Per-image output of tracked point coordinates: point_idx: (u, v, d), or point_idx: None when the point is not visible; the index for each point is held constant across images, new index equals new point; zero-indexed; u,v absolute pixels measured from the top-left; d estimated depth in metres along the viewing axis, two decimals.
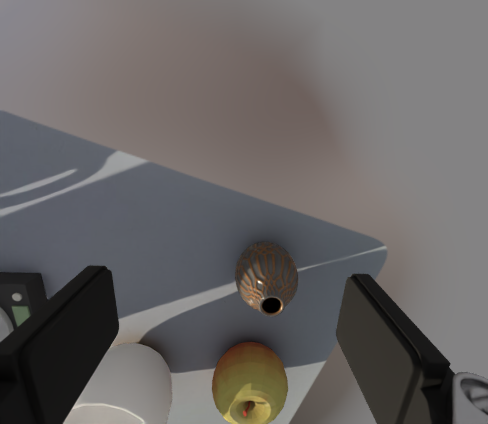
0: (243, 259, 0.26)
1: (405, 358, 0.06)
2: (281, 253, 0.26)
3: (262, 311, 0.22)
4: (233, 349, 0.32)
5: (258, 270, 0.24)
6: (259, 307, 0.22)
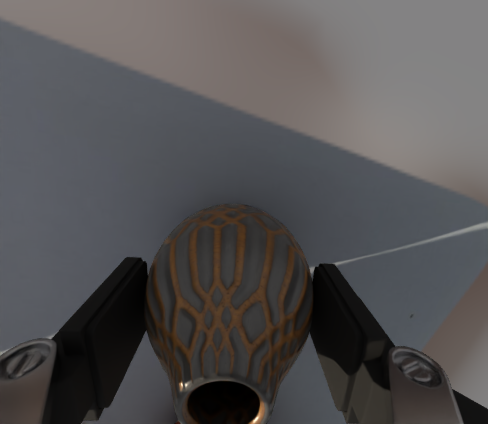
0: (164, 242, 0.10)
1: (351, 335, 0.07)
2: (269, 225, 0.09)
3: None
4: None
5: (190, 275, 0.07)
6: (177, 413, 0.06)
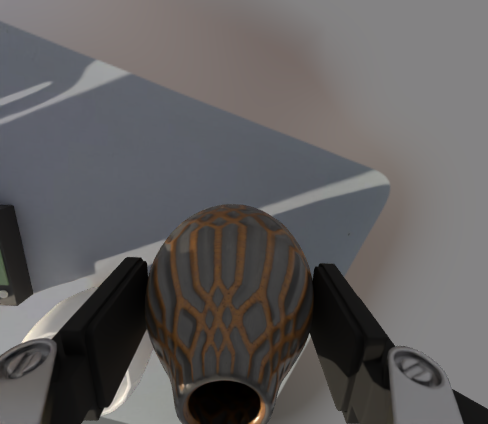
0: (165, 242, 0.10)
1: (351, 335, 0.07)
2: (269, 226, 0.09)
3: None
4: None
5: (190, 275, 0.07)
6: (178, 413, 0.06)
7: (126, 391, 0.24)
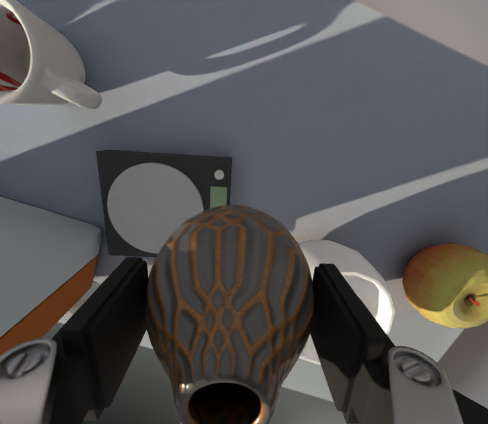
0: (165, 243, 0.10)
1: (351, 335, 0.07)
2: (269, 227, 0.09)
3: None
4: (433, 248, 0.29)
5: (190, 276, 0.07)
6: (178, 415, 0.06)
7: None
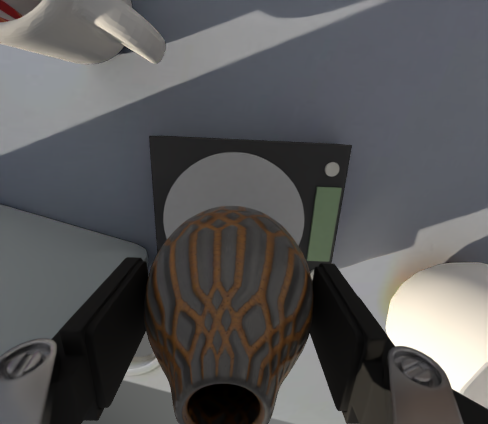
0: (164, 244, 0.10)
1: (351, 335, 0.07)
2: (269, 228, 0.09)
3: None
4: None
5: (189, 277, 0.07)
6: (177, 416, 0.06)
7: None
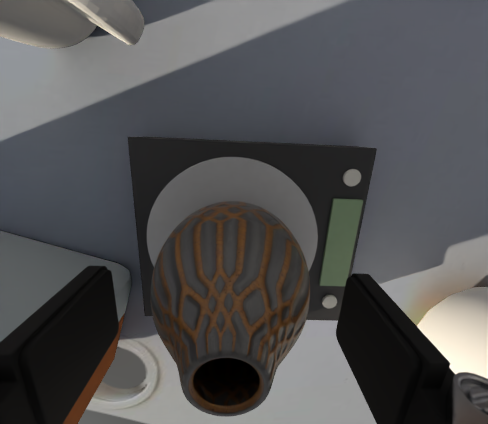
0: (169, 237, 0.10)
1: (405, 358, 0.06)
2: (268, 221, 0.10)
3: (195, 402, 0.07)
4: None
5: (194, 265, 0.08)
6: (184, 389, 0.06)
7: None
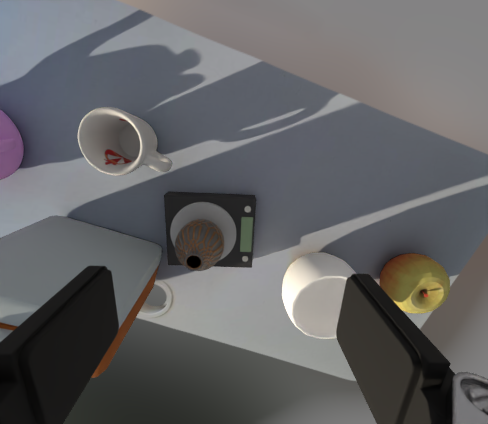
0: (180, 230, 0.34)
1: (405, 358, 0.06)
2: (209, 226, 0.33)
3: (187, 266, 0.30)
4: (399, 256, 0.41)
5: (187, 237, 0.31)
6: (184, 263, 0.30)
7: None
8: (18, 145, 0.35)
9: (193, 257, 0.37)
